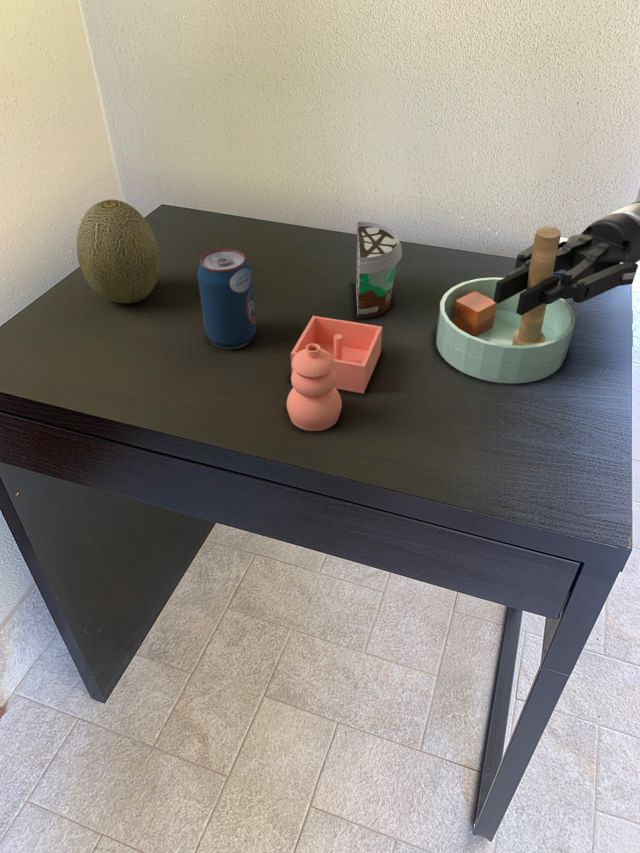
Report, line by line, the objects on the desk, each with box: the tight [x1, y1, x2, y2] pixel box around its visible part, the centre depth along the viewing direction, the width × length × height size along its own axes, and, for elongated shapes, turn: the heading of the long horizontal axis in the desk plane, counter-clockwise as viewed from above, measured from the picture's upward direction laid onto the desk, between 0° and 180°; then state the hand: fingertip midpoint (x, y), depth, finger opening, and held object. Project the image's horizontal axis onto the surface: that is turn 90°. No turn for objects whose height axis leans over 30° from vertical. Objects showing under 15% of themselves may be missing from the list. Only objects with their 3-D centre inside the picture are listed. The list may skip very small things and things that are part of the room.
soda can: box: [196, 248, 257, 350], centre depth 91 cm, size 7×7×12 cm
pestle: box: [512, 225, 562, 346], centre depth 85 cm, size 4×4×17 cm
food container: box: [355, 220, 403, 319], centre depth 98 cm, size 12×6×10 cm, turn 179°
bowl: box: [435, 276, 576, 384], centre depth 91 cm, size 17×17×6 cm
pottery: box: [286, 315, 383, 432], centre depth 83 cm, size 18×10×10 cm, turn 163°
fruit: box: [76, 199, 161, 304], centre depth 98 cm, size 11×11×15 cm
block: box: [453, 291, 497, 337], centre depth 94 cm, size 4×4×4 cm
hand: (509, 298), depth 81 cm, fingers closed on pestle, 3 cm apart
